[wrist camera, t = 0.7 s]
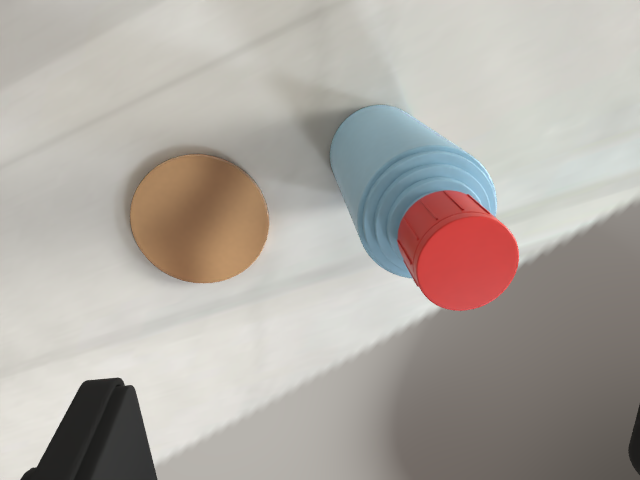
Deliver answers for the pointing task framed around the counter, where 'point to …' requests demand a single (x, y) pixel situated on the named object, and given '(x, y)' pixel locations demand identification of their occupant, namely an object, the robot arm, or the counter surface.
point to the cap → (457, 250)
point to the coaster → (199, 218)
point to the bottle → (398, 175)
